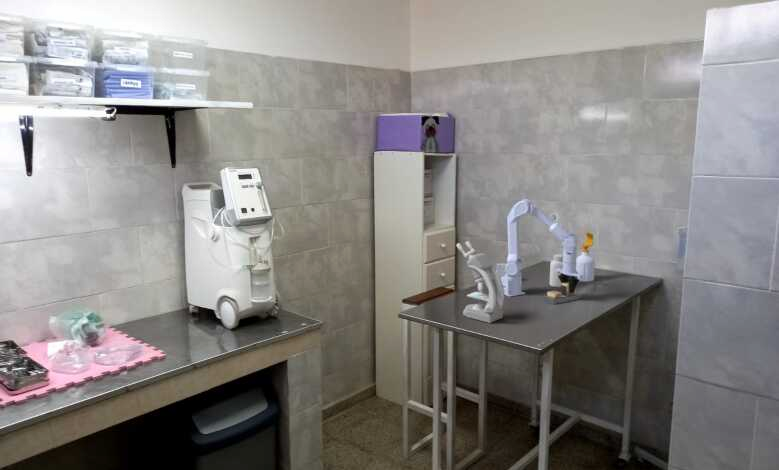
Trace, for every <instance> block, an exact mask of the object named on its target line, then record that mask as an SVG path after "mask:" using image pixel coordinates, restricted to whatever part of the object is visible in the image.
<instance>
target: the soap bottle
mask: <svg viewBox="0 0 779 470" xmlns="http://www.w3.org/2000/svg"><path fill="white" fill-rule="evenodd" d="M581 233H583V234H585V235H586V243H583V244H580V245H579V246H580V247H582V248H583V249H582V250H581V255H578V257H577V260H576V271H577V272H578V273H580V274H582V275H583V279H580V280H579V282H584V283H585V282H593V281H594V280H595V265H596V260H595V259H594V257H592V256H590V250H588V249H589V247H593V245H594V234H593V233H590V232H586V231H581Z"/></svg>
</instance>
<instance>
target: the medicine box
mask: <svg viewBox="0 0 779 470" xmlns="http://www.w3.org/2000/svg"><path fill="white" fill-rule="evenodd" d="M506 264H507V263H496V266H495V268H496V269H495V271H496V272H497V273H498V275H499V277H500V279H501V277H503V276H505V275H506V271H505V266H506Z"/></svg>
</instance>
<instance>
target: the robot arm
mask: <svg viewBox="0 0 779 470" xmlns="http://www.w3.org/2000/svg"><path fill="white" fill-rule="evenodd" d="M525 215H528V216H530V217H535V218H537V220H539V221H540V222H541V223H543V224H544V225H545V226H546V227H547V228H549V233H551V235H553V237H555V238H556V239H557V241H559V242H561V244H562V247H563V252H562V255H563V269H561V268H557V269H556V273H560V275H558V277H559V279H560V281H561V284H562V283H566V282H569V292H570V293H574V291H575V288H576V287H577V285H578V283H579V282H580V281H579V280H580V279H583V275H582V274H580V273H578V272H577V271H576V260H577V258H578V257H577V254H578V253H577V252H578V251H577V250H578V249H577V245H578V241H579V240H578V237H577V236H576V234H574V233H573V232H572V231H569V230H568V229H566V227H564V226H565V225H564V224H563V223H560V222H555V221H554V220H553V219H552V218H551V217H549V216H548V214H546V212H544V210H542V209H541V207H539V205H537V204H536V203H534V202H532V200H530V199H528V198H524V199H522V200H520V201H518V202H517V203H515V204H514V205H513V207H511V210H510V212H509V213H508V215H507V217H506V218H507V219H506V221H507V258H506V263H505V264H506V266H505V271H506V275H505V276H503V277H501V281H502V284H503V288H504V296H507V297H515V296H520V295H526V292H525V291H524V292H523V291H522V288H523V287H522V285H523V284H522V282H523V281H522V280H523V279H522V278H523V276H522V275H523V273H522V272H521V271H522V270H523V266H524V264H523V262H522V260H521V255H520V229H519V227H520V225H519V220H520V219H522V217H523V216H525Z"/></svg>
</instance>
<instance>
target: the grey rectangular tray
mask: <svg viewBox="0 0 779 470" xmlns="http://www.w3.org/2000/svg"><path fill="white" fill-rule="evenodd" d="M582 297H583V296H582V294H581V293H579V292H575V295H572V296H566V297H561V298H556V299H554V298H551V297H548V296H547V294H546V295H542V301H544V302H546V303H549V304H552V305H558V304H562V303H563V304H564V303H567V302H569V303H570V302H572V301H577V300H578V301H579V300H582Z"/></svg>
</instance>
